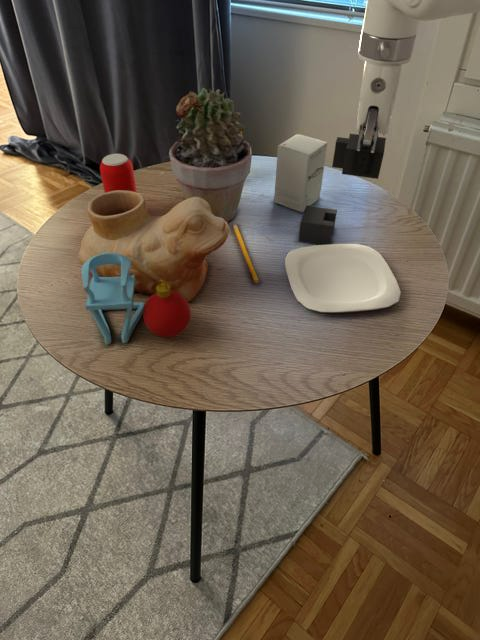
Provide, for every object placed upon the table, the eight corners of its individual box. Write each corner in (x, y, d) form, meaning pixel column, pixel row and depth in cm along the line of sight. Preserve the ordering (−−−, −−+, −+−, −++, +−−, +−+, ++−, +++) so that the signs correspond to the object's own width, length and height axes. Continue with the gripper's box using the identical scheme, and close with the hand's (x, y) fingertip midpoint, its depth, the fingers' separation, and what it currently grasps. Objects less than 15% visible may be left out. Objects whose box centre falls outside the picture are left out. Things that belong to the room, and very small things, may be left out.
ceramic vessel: (218, 313, 78) (215, 234, 67) (69, 288, 82) (45, 210, 72) (238, 262, 88) (238, 187, 77) (104, 243, 92) (87, 168, 81)
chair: (90, 345, 73) (71, 284, 64) (97, 308, 79) (80, 247, 70) (142, 342, 73) (130, 280, 65) (145, 305, 79) (134, 245, 71)
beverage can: (104, 220, 97) (92, 164, 89) (116, 205, 102) (106, 150, 94) (133, 224, 96) (123, 167, 88) (144, 208, 101) (136, 153, 93)
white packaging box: (302, 213, 100) (309, 154, 91) (273, 202, 103) (276, 144, 94) (320, 199, 104) (328, 141, 95) (291, 188, 107) (296, 132, 98)
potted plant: (261, 188, 107) (265, 66, 90) (253, 238, 93) (257, 104, 76) (180, 183, 109) (170, 62, 91) (161, 232, 95) (144, 100, 77)
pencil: (236, 226, 96) (236, 223, 96) (258, 283, 84) (258, 279, 83) (232, 226, 96) (232, 223, 96) (254, 283, 83) (254, 280, 83)
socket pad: (333, 229, 95) (337, 209, 92) (329, 246, 91) (333, 226, 88) (303, 225, 97) (306, 205, 94) (298, 241, 92) (300, 221, 89)
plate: (373, 248, 91) (375, 240, 90) (408, 313, 78) (411, 305, 77) (278, 254, 89) (279, 246, 88) (298, 321, 76) (299, 314, 75)
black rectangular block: (380, 162, 84) (386, 137, 81) (378, 179, 80) (383, 153, 77) (334, 157, 86) (338, 132, 83) (330, 172, 82) (334, 146, 78)
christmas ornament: (136, 336, 74) (126, 285, 67) (164, 309, 78) (157, 259, 72) (174, 353, 72) (167, 303, 65) (201, 324, 76) (197, 274, 69)
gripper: (411, 67, 63) (382, 192, 76) (413, 32, 75) (387, 145, 88) (353, 62, 64) (334, 185, 77) (364, 29, 76) (346, 140, 89)
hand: (362, 163), depth 82 cm, fingers closed on black rectangular block, 6 cm apart
